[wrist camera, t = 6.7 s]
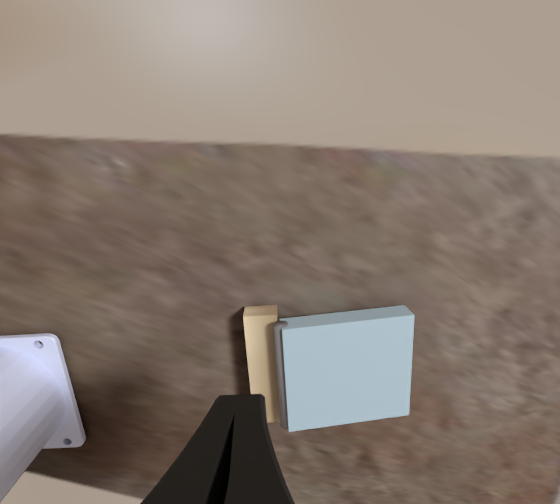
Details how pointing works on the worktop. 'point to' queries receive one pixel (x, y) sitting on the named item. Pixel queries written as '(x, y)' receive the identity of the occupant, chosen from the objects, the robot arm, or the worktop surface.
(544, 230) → the worktop surface
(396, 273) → the worktop surface
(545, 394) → the worktop surface
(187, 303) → the worktop surface
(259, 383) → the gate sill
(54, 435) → the robot arm
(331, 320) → the panel
